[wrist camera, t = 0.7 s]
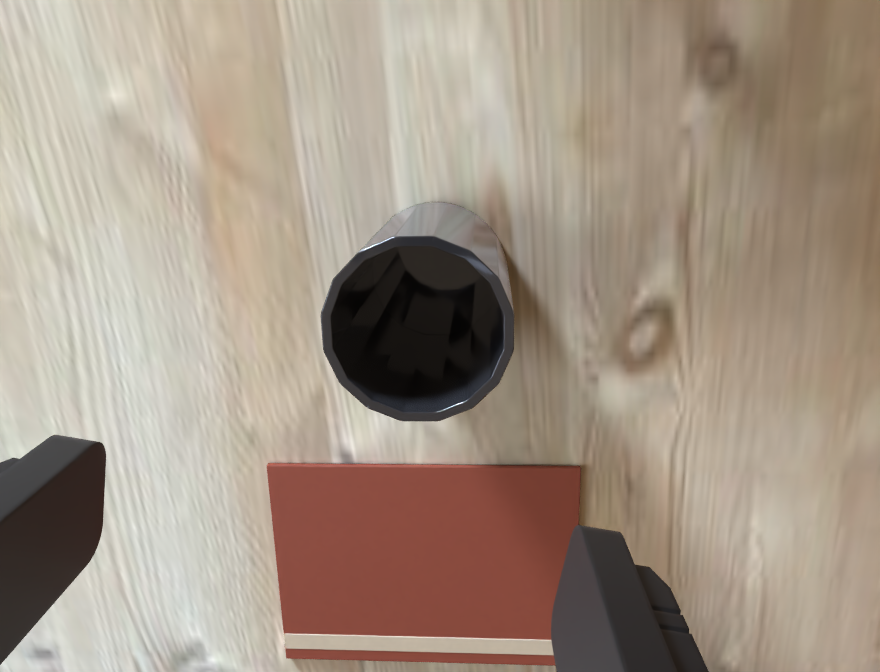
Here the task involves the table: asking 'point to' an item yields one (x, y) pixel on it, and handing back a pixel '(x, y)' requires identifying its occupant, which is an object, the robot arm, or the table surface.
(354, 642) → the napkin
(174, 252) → the table surface
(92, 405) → the table surface
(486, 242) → the black cup
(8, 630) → the robot arm
